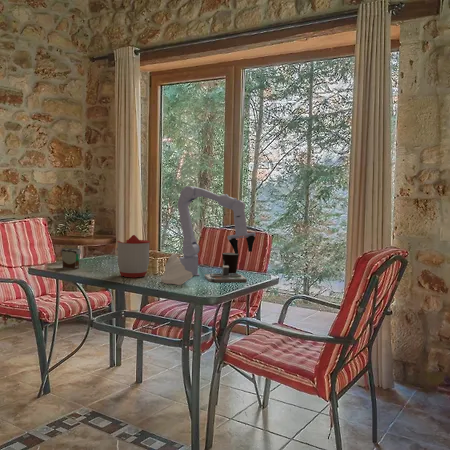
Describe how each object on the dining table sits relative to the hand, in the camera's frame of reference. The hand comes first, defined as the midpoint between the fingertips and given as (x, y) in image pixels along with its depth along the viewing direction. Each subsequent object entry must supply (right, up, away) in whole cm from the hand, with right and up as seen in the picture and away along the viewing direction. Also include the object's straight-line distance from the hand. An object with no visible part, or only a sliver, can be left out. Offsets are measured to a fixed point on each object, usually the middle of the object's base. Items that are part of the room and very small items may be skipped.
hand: (243, 252), depth 246 cm
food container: (-88, -9, +18) cm, 90 cm away
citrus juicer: (-54, -11, -1) cm, 55 cm away
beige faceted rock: (-32, -13, -16) cm, 38 cm away
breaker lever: (-9, -11, -2) cm, 14 cm away
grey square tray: (-9, -13, -2) cm, 15 cm away
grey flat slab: (-9, -13, -2) cm, 15 cm away
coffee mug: (-6, -11, +18) cm, 22 cm away
